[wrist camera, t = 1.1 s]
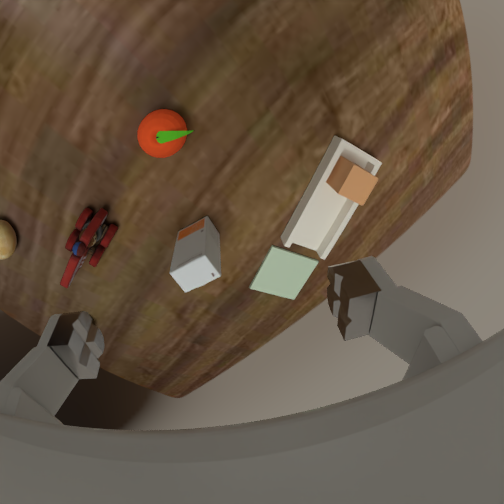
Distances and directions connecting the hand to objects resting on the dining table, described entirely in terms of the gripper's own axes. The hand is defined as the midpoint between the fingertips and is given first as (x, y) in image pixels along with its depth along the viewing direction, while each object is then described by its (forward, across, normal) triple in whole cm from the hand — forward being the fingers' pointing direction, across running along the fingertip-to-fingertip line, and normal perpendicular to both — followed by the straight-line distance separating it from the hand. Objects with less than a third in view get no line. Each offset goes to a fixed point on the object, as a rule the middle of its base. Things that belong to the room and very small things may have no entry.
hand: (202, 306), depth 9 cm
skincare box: (+37, +6, +17) cm, 41 cm away
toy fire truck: (+37, +24, +12) cm, 45 cm away
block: (+36, -20, +10) cm, 42 cm away
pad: (+36, -8, +29) cm, 47 cm away
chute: (+36, -17, +14) cm, 43 cm away
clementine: (+37, +6, -1) cm, 37 cm away
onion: (+37, +45, +7) cm, 59 cm away
